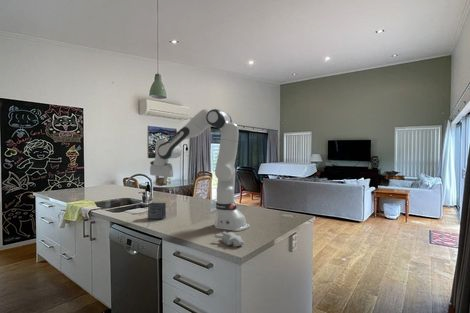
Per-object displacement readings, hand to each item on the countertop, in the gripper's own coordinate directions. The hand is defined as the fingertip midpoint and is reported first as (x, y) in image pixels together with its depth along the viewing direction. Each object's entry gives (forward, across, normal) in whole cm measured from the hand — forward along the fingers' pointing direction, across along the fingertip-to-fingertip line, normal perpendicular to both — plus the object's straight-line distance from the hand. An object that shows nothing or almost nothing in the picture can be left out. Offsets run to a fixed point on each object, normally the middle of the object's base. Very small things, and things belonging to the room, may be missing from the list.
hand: (161, 182), depth 184 cm
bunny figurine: (+23, -68, +13) cm, 73 cm away
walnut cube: (+2, 0, 0) cm, 2 cm away
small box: (+25, +1, +2) cm, 25 cm away
